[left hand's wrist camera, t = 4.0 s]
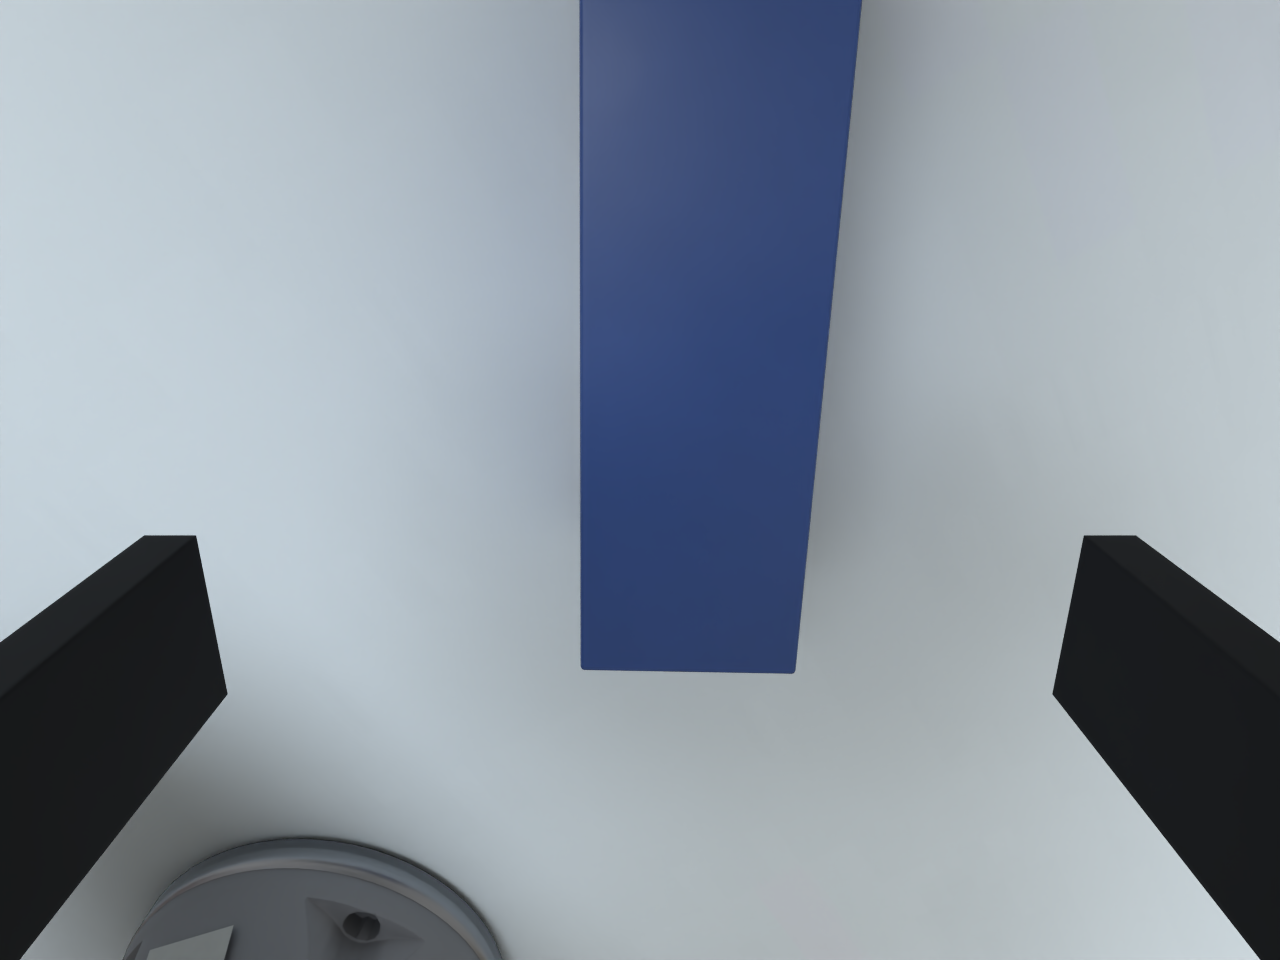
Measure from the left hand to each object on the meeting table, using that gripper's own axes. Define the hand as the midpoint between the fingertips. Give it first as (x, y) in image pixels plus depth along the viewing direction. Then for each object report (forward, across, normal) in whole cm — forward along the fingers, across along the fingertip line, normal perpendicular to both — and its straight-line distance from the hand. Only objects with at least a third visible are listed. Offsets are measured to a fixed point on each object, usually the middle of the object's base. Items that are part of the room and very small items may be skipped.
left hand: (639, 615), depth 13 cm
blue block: (+15, -1, -3) cm, 15 cm away
